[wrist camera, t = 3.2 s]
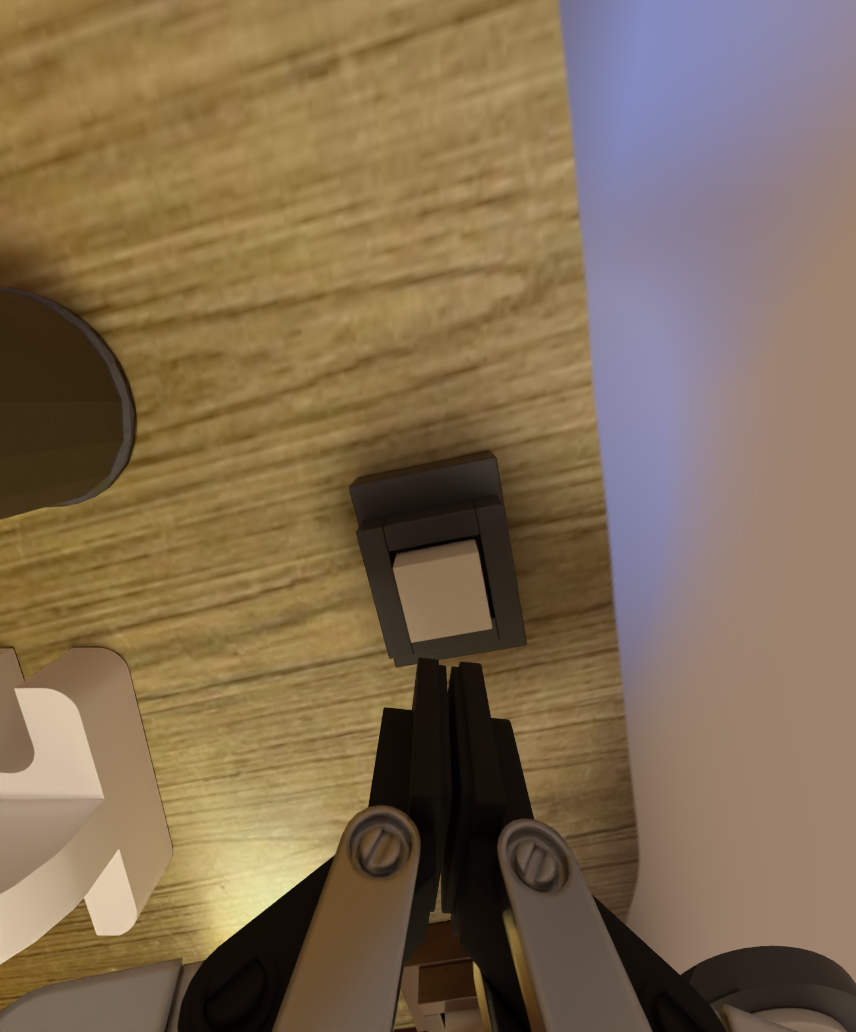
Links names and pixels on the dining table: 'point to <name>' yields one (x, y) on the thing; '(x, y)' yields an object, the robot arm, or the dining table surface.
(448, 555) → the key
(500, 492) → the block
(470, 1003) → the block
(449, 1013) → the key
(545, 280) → the dining table surface
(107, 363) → the canister
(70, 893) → the slotted bracket
